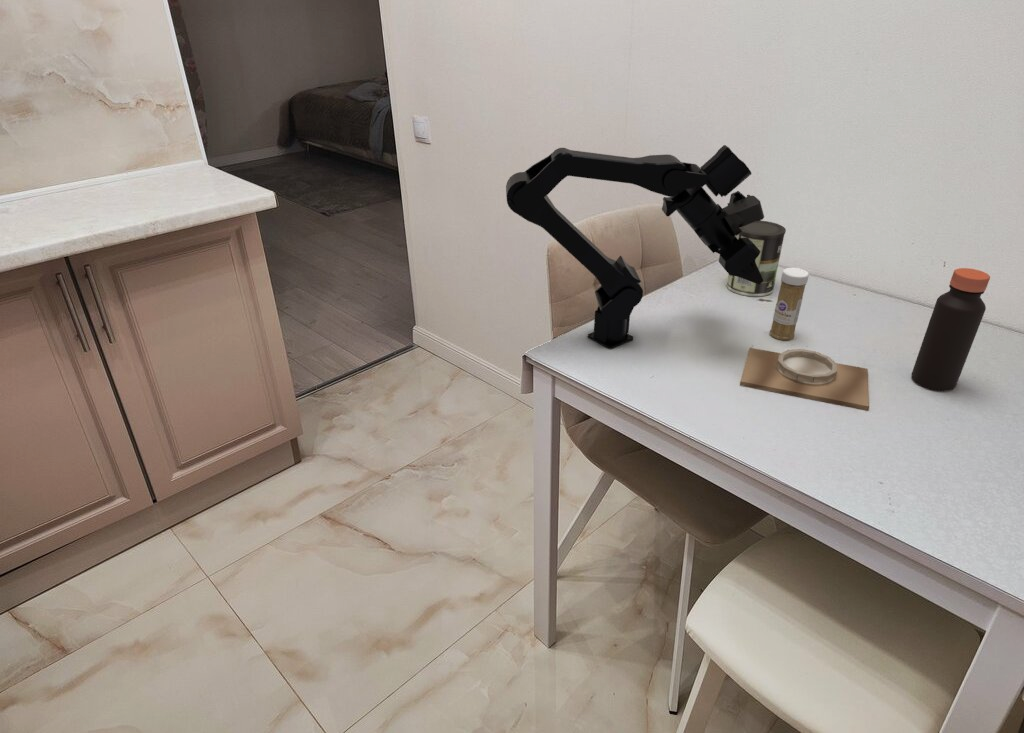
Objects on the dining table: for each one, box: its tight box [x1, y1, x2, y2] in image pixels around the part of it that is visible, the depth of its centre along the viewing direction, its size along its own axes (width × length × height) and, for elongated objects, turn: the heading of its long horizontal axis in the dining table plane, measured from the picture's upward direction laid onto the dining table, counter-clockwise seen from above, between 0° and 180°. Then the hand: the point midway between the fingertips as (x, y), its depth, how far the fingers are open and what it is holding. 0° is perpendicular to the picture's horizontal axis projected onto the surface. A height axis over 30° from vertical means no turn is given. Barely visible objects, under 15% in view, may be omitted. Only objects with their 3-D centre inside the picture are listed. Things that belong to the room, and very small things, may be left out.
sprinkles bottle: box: [769, 267, 809, 341], centre depth 126 cm, size 5×5×14 cm
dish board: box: [739, 347, 870, 411], centre depth 115 cm, size 20×13×2 cm, turn 66°
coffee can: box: [726, 220, 787, 298], centre depth 146 cm, size 10×10×14 cm
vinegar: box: [911, 267, 991, 392], centre depth 110 cm, size 7×7×20 cm
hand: (752, 272), depth 123 cm, fingers open, 9 cm apart
